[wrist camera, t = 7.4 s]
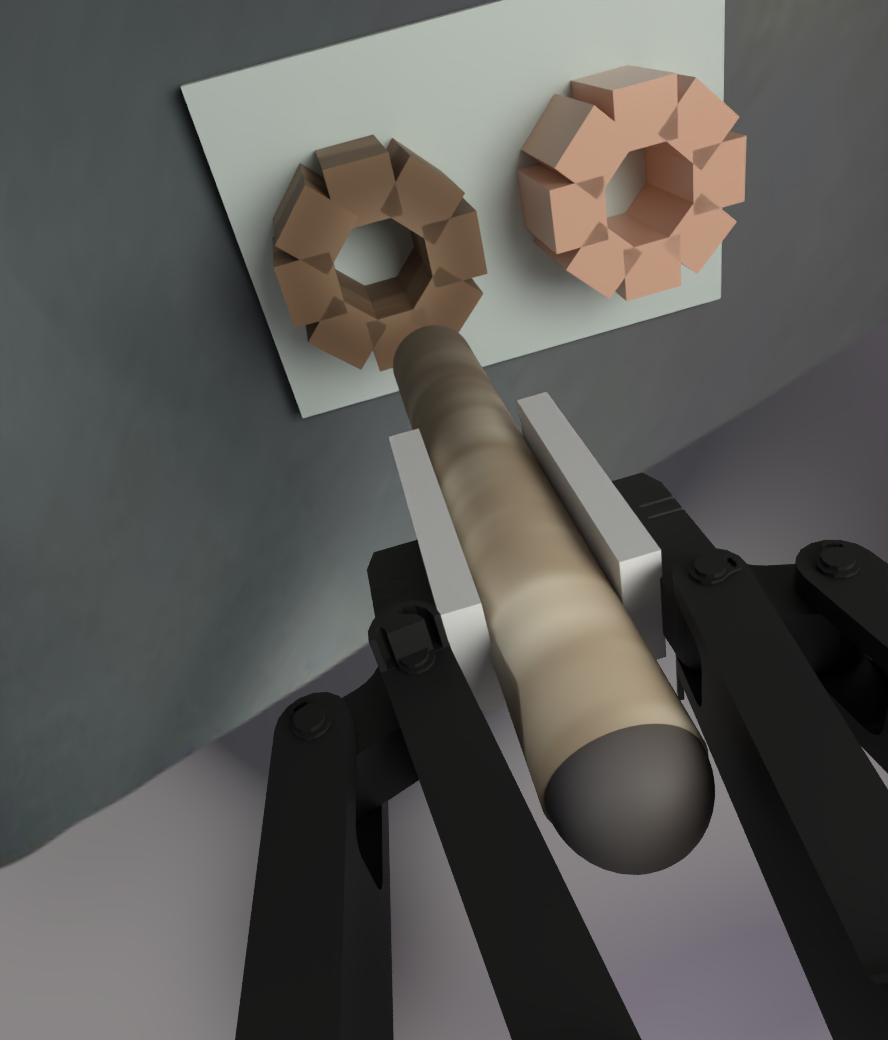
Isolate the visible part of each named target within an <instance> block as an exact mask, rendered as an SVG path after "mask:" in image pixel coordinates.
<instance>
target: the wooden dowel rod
mask: <svg viewBox="0 0 888 1040" xmlns="http://www.w3.org/2000/svg"><path fill="white" fill-rule="evenodd" d="M393 373H394V377H395V380H396V383H397V385H398V388H399V391H400V394H401V397H402V400H403V403H404V406H405V409H406V412H407V415H408V418H409V421H410V424H411V426H412V429H413V430H415V429H419V431H420V433H421V436H422V439H423V442H424V444H425V447H426V450H427V453H428V456H429V458H430V461H431V464H432V467H433V470H434V472H435V475H436V478H437V481H438V484H439V486H440V489H441V492H442V495H443V498H444V500H445V503H446V506H447V509H448V512H449V514H450V517H451V520H452V523H453V526H454V528H455V531H456V534H457V537H458V540H459V542H460V545H461V548H462V551H463V554H464V556H465V559H466V562H467V565H468V568H469V570H470V573H471V576H472V579H473V582H474V584H475V587H476V590H477V593H478V595H479V598H480V601H481V604H482V608H483V612H484V616H485V620H486V624H487V628H488V632H489V636H490V641H491V660H492V663H493V666H494V669H495V672H496V675H497V678H498V681H499V684H500V687H501V690H502V693H503V696H504V699H505V701H506V704H507V707H508V710H509V713H510V716H511V719H512V722H513V725H514V728H515V731H516V733H517V737H518V739H519V742H520V745H521V748H522V751H523V754H524V757H525V760H526V763H527V766H528V769H529V772H530V775H531V778H532V781H533V783H534V786H535V789H536V792H537V795H538V798H539V801H540V803H541V807H542V809H543V812H544V814H545V816H546V817H547V819H548V820H549V821H550V822H551V823H552V824H553V826H554V827H555V829H556V831H557V832H558V834H559V835H560V837H562V839H563V840H564V841H565V843H566V844H567V845H568V846H569V847H570V848H572V850H574V851H575V852H576V853H577V854H578V855H579V856H581V857H583V858H584V859H585V860H587V861H588V862H590V863H592V864H594V865H596V866H598V867H600V868H602V869H605V870H609V871H612V872H616V873H620V874H632V875H641V874H649V873H653V872H657V871H660V870H663V869H666V868H668V867H670V866H672V865H674V864H676V863H677V862H679V861H680V860H682V859H683V858H685V857H686V856H687V855H688V854H689V853H690V852H691V851H692V850H693V849H694V848H695V846H696V845H697V844H698V843H699V842H700V840H701V838H702V837H703V835H704V833H705V831H706V830H707V828H708V825H709V822H710V819H711V816H712V813H713V807H714V800H715V784H714V776H713V770H712V767H711V764H710V761H709V758H708V749H707V746H706V743H705V741H704V740H703V738H702V736H701V735H700V733H699V731H698V730H697V728H696V726H695V725H694V723H693V721H692V719H691V718H690V716H689V715H688V713H687V711H686V710H685V708H684V706H683V704H682V703H681V701H680V699H679V698H678V696H677V694H676V693H675V691H674V689H673V688H672V686H671V684H670V683H669V681H668V679H667V677H666V676H665V674H664V673H663V671H662V669H661V667H660V666H659V664H658V662H657V661H656V659H655V657H654V656H653V654H652V652H651V651H650V649H649V647H648V646H647V644H646V642H645V640H644V639H643V637H642V635H641V634H640V632H639V630H638V629H637V627H636V625H635V624H634V622H633V620H632V619H631V617H630V615H629V614H628V612H627V610H626V609H625V607H624V605H623V604H622V602H621V600H620V599H619V597H618V595H617V594H616V592H615V590H614V589H613V587H612V585H611V583H610V582H609V580H608V578H607V577H606V575H605V573H604V572H603V570H602V568H601V567H600V565H599V563H598V562H597V560H596V558H595V557H594V555H593V553H592V552H591V550H590V548H589V546H588V545H587V543H586V541H585V540H584V538H583V536H582V535H581V533H580V531H579V530H578V528H577V526H576V525H575V523H574V521H573V520H572V518H571V516H570V515H569V513H568V511H567V509H566V508H565V506H564V504H563V503H562V501H561V499H560V498H559V496H558V494H557V493H556V491H555V489H554V488H553V486H552V484H551V483H550V481H549V479H548V478H547V476H546V474H545V472H544V471H543V469H542V467H541V466H540V464H539V462H538V461H537V459H536V457H535V456H534V454H533V452H532V451H531V449H530V447H529V446H528V444H527V442H526V441H525V439H524V437H523V435H522V434H521V432H520V430H519V429H518V427H517V425H516V424H515V422H514V420H513V419H512V417H511V415H510V414H509V412H508V410H507V409H506V407H505V405H504V403H503V402H502V400H501V398H500V397H499V395H498V393H497V392H496V390H495V388H494V387H493V385H492V383H491V382H490V380H489V378H488V377H487V375H486V373H485V372H484V370H483V368H482V366H481V365H480V363H479V361H478V360H477V358H476V356H475V355H474V353H473V351H472V350H471V348H470V346H469V345H468V343H467V341H466V340H465V339H464V337H463V336H462V335H460V334H459V333H458V332H457V331H455V330H453V329H451V328H449V327H445V326H440V325H431V326H425V327H422V328H419V329H417V330H415V331H413V332H412V333H410V334H409V335H408V336H407V337H405V338H404V340H403V341H402V342H401V343H400V345H399V346H398V348H397V350H396V352H395V355H394V359H393Z"/></svg>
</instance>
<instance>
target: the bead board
mask: <svg viewBox="0 0 888 1040" xmlns="http://www.w3.org/2000/svg"><path fill="white" fill-rule="evenodd" d="M724 16H725V0H496V1H492V2H488V3H485V4H481V5H477V6H474V7H470V8H466V9H462V10H459V11H455V12H451V13H447V14H444V15H440V16H436V17H432V18H429V19H425V20H421V21H417V22H414V23H410V24H406V25H403V26H399V27H395V28H391V29H388V30H384V31H380V32H376V33H373V34H369V35H365V36H361V37H358V38H354V39H350V40H346V41H343V42H339V43H335V44H331V45H328V46H324V47H320V48H317V49H313V50H309V51H305V52H302V53H298V54H294V55H290V56H287V57H283V58H279V59H275V60H272V61H268V62H264V63H260V64H257V65H253V66H249V67H245V68H242V69H238V70H234V71H231V72H227V73H223V74H219V75H216V76H212V77H208V78H204V79H201V80H197V81H193V82H189V83H186V84H183V85H182V86H181V90H182V93H183V95H184V98H185V101H186V103H187V106H188V109H189V112H190V114H191V117H192V120H193V122H194V125H195V128H196V131H197V133H198V136H199V139H200V141H201V144H202V147H203V149H204V152H205V155H206V158H207V160H208V163H209V166H210V168H211V171H212V174H213V177H214V179H215V182H216V185H217V187H218V190H219V193H220V196H221V198H222V201H223V204H224V206H225V209H226V212H227V214H228V217H229V220H230V223H231V225H232V228H233V231H234V233H235V236H236V239H237V242H238V244H239V247H240V250H241V252H242V255H243V258H244V260H245V263H246V266H247V269H248V271H249V274H250V277H251V279H252V282H253V285H254V288H255V290H256V293H257V296H258V298H259V301H260V304H261V307H262V309H263V312H264V315H265V317H266V320H267V323H268V325H269V328H270V331H271V334H272V336H273V339H274V342H275V344H276V347H277V350H278V353H279V355H280V358H281V361H282V363H283V366H284V369H285V371H286V374H287V377H288V380H289V382H290V385H291V388H292V390H293V393H294V396H295V399H296V401H297V404H298V407H299V409H300V412H301V415H302V418H306V417H309V416H313V415H316V414H320V413H323V412H327V411H330V410H334V409H337V408H341V407H344V406H348V405H351V404H355V403H358V402H362V401H365V400H369V399H372V398H376V397H379V396H383V395H386V394H390V393H393V392H396V391H399V388H398V385H397V383H396V380H395V377H394V373H393V368H391V369H388V370H384V371H381V372H380V370H379V367H378V364H377V361H376V358H375V355H374V352H373V351H372V352H371V354H370V356H369V358H368V359H367V361H366V363H365V364H364V366H363V368H362V369H361V370H360V369H358V368H356V367H354V366H352V365H350V364H348V363H346V362H344V361H342V360H340V359H338V358H336V357H334V356H333V355H331V354H329V353H327V352H325V351H323V350H321V349H319V348H317V347H315V346H313V345H311V344H309V343H308V340H307V332H306V325H304V326H300V327H297V328H295V327H294V325H293V322H292V319H291V316H290V313H289V310H288V307H287V304H286V302H285V299H284V296H283V293H282V290H281V287H280V284H279V281H278V279H277V276H276V273H275V270H274V265H273V241H272V237H274V221H273V217H274V215H275V213H276V211H277V209H278V207H279V205H280V203H281V201H282V199H283V197H284V195H285V193H286V191H287V189H288V187H289V185H290V182H291V180H292V178H293V176H294V174H295V172H296V170H297V168H298V166H299V164H300V163H301V164H302V165H304V166H306V167H307V168H309V169H310V170H312V171H314V172H315V173H317V174H319V175H320V176H322V173H321V169H320V166H319V162H318V159H317V155H316V152H315V150H318V149H321V148H325V147H329V146H332V145H336V144H340V143H343V142H347V141H351V140H354V139H358V138H362V137H365V136H369V135H374V136H375V137H376V138H377V139H378V140H379V142H380V143H381V144H382V145H383V146H384V147H385V149H387V147H388V145H389V143H390V141H391V139H392V138H394V139H395V140H396V141H398V142H399V143H401V144H402V145H404V146H405V147H407V148H408V149H410V150H411V151H413V152H414V153H416V154H417V155H419V156H420V157H422V158H423V159H424V160H426V161H427V162H429V163H430V164H432V165H433V166H435V167H436V168H438V169H439V170H441V171H442V172H443V173H444V174H445V175H446V176H447V177H449V178H450V179H451V180H452V181H453V182H454V183H455V184H456V185H457V186H458V187H459V188H460V189H462V190H463V191H464V192H465V194H464V196H463V198H464V199H465V200H466V201H467V202H468V203H469V204H470V205H471V206H472V207H473V208H474V209H475V210H476V211H477V216H478V222H479V227H480V233H481V239H482V244H483V250H484V256H485V261H486V267H487V273H488V274H485V275H481V276H478V277H474V278H472V279H473V280H474V281H475V283H476V284H477V285H478V287H479V288H480V289H481V291H482V292H483V293H484V294H483V295H482V297H481V298H480V300H479V301H478V303H477V305H476V306H475V308H474V309H473V311H472V312H471V314H470V316H469V317H468V319H467V320H466V322H465V323H464V325H463V327H462V328H461V330H460V331H459V334H460V335H462V336H463V337H464V339H465V340H466V341H467V343H468V345H469V346H470V348H471V350H472V351H473V353H474V355H475V356H476V358H477V360H478V361H479V363H480V365H481V366H482V367H484V366H487V365H491V364H494V363H498V362H501V361H504V360H508V359H511V358H515V357H518V356H522V355H525V354H529V353H532V352H536V351H539V350H543V349H546V348H550V347H553V346H557V345H560V344H564V343H567V342H571V341H574V340H578V339H581V338H585V337H588V336H592V335H595V334H599V333H602V332H606V331H609V330H612V329H616V328H619V327H623V326H626V325H630V324H633V323H637V322H640V321H644V320H647V319H651V318H654V317H658V316H661V315H665V314H668V313H672V312H675V311H679V310H682V309H686V308H689V307H693V306H696V305H700V304H703V303H707V302H710V301H714V300H717V299H720V298H721V246H722V242H721V243H720V245H719V246H718V247H717V249H716V250H715V251H714V253H713V254H712V255H711V257H710V258H709V259H708V261H707V262H706V263H705V265H704V266H703V267H702V269H701V270H700V271H699V273H698V274H696V273H695V272H693V271H692V270H690V269H688V268H687V267H685V266H683V265H682V264H681V286H678V287H675V288H671V289H668V290H664V291H661V292H657V293H654V294H650V295H647V296H643V297H640V298H636V299H633V300H629V301H626V300H624V299H623V298H622V297H621V296H619V295H618V294H617V293H616V292H614V294H613V295H612V296H611V298H610V299H609V298H607V297H606V296H604V295H603V294H601V293H600V292H598V291H597V290H595V289H594V288H592V287H591V286H589V285H588V284H586V283H585V282H583V281H582V280H580V279H579V278H577V277H576V276H574V275H573V274H571V273H570V272H568V271H567V270H565V269H564V268H563V267H562V266H561V265H560V264H559V263H557V262H556V261H555V260H554V259H553V258H552V257H551V256H549V255H548V254H547V253H546V252H545V251H544V250H542V249H541V248H540V247H539V246H538V245H537V244H536V243H534V242H533V241H534V240H535V238H536V236H535V235H534V234H532V233H531V232H530V231H529V230H528V229H526V228H525V225H524V218H523V211H522V204H521V197H520V190H519V183H518V176H517V169H520V168H524V167H528V166H531V165H535V164H538V163H539V162H537V161H536V160H534V159H533V158H532V157H530V156H529V155H528V154H526V153H525V152H524V151H522V150H521V148H522V147H523V145H524V143H525V142H526V140H527V138H528V137H529V135H530V134H531V132H532V130H533V129H534V127H535V125H536V124H537V122H538V120H539V119H540V117H541V115H542V114H543V112H544V110H545V109H546V107H547V105H548V104H549V102H550V100H551V99H552V97H553V95H554V94H559V95H562V96H565V97H569V98H572V99H573V97H572V87H571V80H574V79H578V78H582V77H585V76H589V75H593V74H596V73H600V72H604V71H607V70H611V69H615V68H618V67H622V66H626V65H631V66H637V67H643V68H649V69H655V70H662V71H668V72H674V73H677V74H680V75H686V76H692V77H696V78H698V79H699V80H700V81H701V82H702V83H703V84H704V85H705V86H706V87H707V88H708V89H710V90H711V91H712V92H713V93H714V94H715V95H716V96H717V97H718V98H719V99H720V100H722V101H723V93H724ZM322 177H323V176H322ZM645 183H646V161H645V147H644V148H640V149H637V150H633V151H630V152H628V154H627V155H626V157H625V158H624V160H623V161H622V163H621V164H620V166H619V167H618V169H617V170H616V172H615V173H614V175H613V176H612V178H611V179H610V181H609V182H608V184H607V185H606V187H605V188H604V189H605V202H606V215H607V217H611V216H615V215H618V214H622V213H625V212H626V211H627V210H628V208H629V207H630V205H631V204H632V202H633V201H634V199H635V198H636V196H637V195H638V193H639V192H640V191H641V189H642V188H643V186H644V185H645ZM721 209H722V208H721ZM413 248H414V245H413V240H412V236H411V232H410V229H408V228H407V227H405V226H403V225H402V224H400V223H398V222H397V221H395V220H394V219H392V218H388V219H385V220H381V221H377V222H374V223H370V224H367V225H363V226H359V227H356V228H352V230H351V232H350V233H349V235H348V237H347V239H346V241H345V243H344V245H343V247H342V248H341V250H340V252H339V254H338V256H337V258H336V260H335V262H334V266H335V269H336V270H338V271H340V272H342V273H343V274H345V275H347V276H349V277H350V278H352V279H354V280H356V281H358V282H359V283H361V284H363V285H369V284H372V283H376V282H380V281H383V280H387V279H390V278H394V277H397V276H398V274H399V272H400V270H401V269H402V267H403V265H404V263H405V262H406V260H407V258H408V257H409V255H410V253H411V251H412V250H413Z"/></svg>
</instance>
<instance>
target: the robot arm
mask: <svg viewBox="0 0 888 1040" xmlns="http://www.w3.org/2000/svg"><path fill="white" fill-rule="evenodd" d="M517 404H518V410H519V416H520V422H521V428H522V433H523V437H524V439H525V441H526V442H527V444H528V446H529V447H530V449H531V451H532V452H533V454H534V456H535V457H536V459H537V461H538V462H539V464H540V466H541V467H542V469H543V471H544V472H545V474H546V476H547V478H548V479H549V481H550V483H551V484H552V486H553V488H554V489H555V491H556V493H557V494H558V496H559V498H560V499H561V501H562V503H563V504H564V506H565V508H566V509H567V511H568V513H569V515H570V516H571V518H572V520H573V521H574V523H575V525H576V526H577V528H578V530H579V531H580V533H581V535H582V536H583V538H584V540H585V541H586V543H587V545H588V546H589V548H590V550H591V552H592V553H593V555H594V557H595V558H596V560H597V562H598V563H599V565H600V567H601V568H602V570H603V572H604V573H605V575H606V577H607V578H608V580H609V582H610V583H611V585H612V587H613V589H614V590H615V592H616V594H617V595H618V597H619V599H620V600H621V602H622V604H623V605H624V607H625V609H626V610H627V612H628V614H629V615H630V617H631V619H632V620H633V622H634V624H635V625H636V627H637V629H638V630H639V632H640V634H641V635H642V637H643V639H644V640H645V642H646V644H647V646H648V647H649V649H650V651H651V652H652V654H653V656H654V657H655V659H656V660H657V659H660V658H663V657H666V644H665V637H666V639H667V641H668V642H669V644H670V645H671V647H672V648H673V650H674V652H675V653H676V674H677V693H678V698H679V699H680V700H684V691H685V693H686V695H687V698H688V700H689V702H690V705H691V707H692V709H693V712H694V714H695V716H696V719H697V721H698V723H699V726H700V728H701V730H702V733H703V735H704V737H705V740H706V742H707V744H708V747H709V749H710V752H711V754H712V756H713V758H714V761H715V763H716V766H717V768H718V770H719V773H720V775H721V778H722V780H723V782H724V784H725V787H726V789H727V792H728V794H729V796H730V799H731V801H732V803H733V806H734V808H735V810H736V813H737V815H738V817H739V820H740V822H741V824H742V827H743V829H744V831H745V834H746V836H747V839H748V841H749V843H750V846H751V848H752V850H753V853H754V855H755V857H756V860H757V862H758V864H759V867H760V869H761V872H762V874H763V876H764V879H765V881H766V883H767V885H768V888H769V890H770V893H771V895H772V897H773V899H774V902H775V904H776V907H777V909H778V911H779V914H780V916H781V918H782V921H783V923H784V925H785V928H786V930H787V932H788V935H789V937H790V939H791V942H792V944H793V947H794V949H795V951H796V954H797V956H798V958H799V961H800V963H801V965H802V968H803V970H804V972H805V975H806V977H807V979H808V982H809V984H810V987H811V989H812V991H813V994H814V996H815V998H816V1001H817V1003H818V1005H819V1008H820V1010H821V1013H822V1015H823V1017H824V1019H825V1022H826V1024H827V1027H828V1029H829V1031H830V1034H831V1036H832V1038H833V1040H888V789H887V787H886V786H885V784H884V783H883V781H882V780H881V778H880V777H879V775H878V773H877V772H876V770H875V768H874V767H873V765H872V763H871V762H870V760H869V759H868V757H867V755H866V754H865V752H864V751H863V749H864V750H865V751H866V752H867V753H868V754H869V755H870V756H871V757H872V758H873V759H874V760H875V761H876V762H877V763H878V764H879V765H880V766H881V767H882V768H883V769H884V770H885V771H886V772H887V773H888V564H887V563H886V562H884V561H883V560H882V559H880V558H879V557H878V556H876V555H875V554H874V553H872V552H871V551H869V550H867V549H865V548H864V547H862V546H860V545H858V544H855V543H851V542H847V541H842V540H823V541H819V542H814V543H811V544H809V545H807V546H806V547H804V548H803V549H801V550H800V552H799V554H798V555H797V557H796V563H795V564H787V565H768V566H763V565H749V564H747V563H745V561H744V560H743V559H741V557H740V556H738V555H736V554H734V553H731V552H730V551H727V550H722V549H717V548H715V547H714V545H713V544H712V543H711V542H710V541H709V540H708V538H707V537H706V536H705V535H704V533H703V532H702V531H701V530H700V528H699V527H698V526H697V525H696V524H695V522H694V521H693V520H692V519H691V518H690V516H689V515H688V514H687V513H686V512H685V510H682V507H681V506H680V504H679V503H678V502H677V501H676V500H675V499H673V496H672V495H671V493H670V492H669V491H668V490H667V489H666V487H665V486H664V485H663V484H662V483H661V482H660V481H658V480H656V479H654V478H652V477H650V476H648V475H646V474H644V473H639V474H636V475H632V476H629V477H625V478H622V479H618V480H615V481H612V482H611V480H610V479H609V477H608V476H607V475H606V473H605V472H604V471H603V469H602V468H601V466H600V465H599V464H598V462H597V461H596V459H595V458H594V457H593V455H592V454H591V453H590V451H589V450H588V448H587V447H586V446H585V444H584V443H583V442H582V440H581V439H580V437H579V436H578V435H577V433H576V432H575V430H574V429H573V428H572V426H571V425H570V424H569V422H568V421H567V419H566V418H565V417H564V415H563V414H562V413H561V411H560V410H559V408H558V407H557V406H556V404H555V403H554V401H553V400H552V399H551V397H550V396H549V395H548V393H547V392H544V393H541V394H537V395H534V396H530V397H527V398H523V399H520V400H517ZM389 440H390V443H391V447H392V451H393V454H394V458H395V461H396V465H397V468H398V472H399V475H400V479H401V483H402V486H403V490H404V493H405V497H406V500H407V504H408V508H409V511H410V515H411V518H412V522H413V525H414V529H415V533H416V536H417V540H415V541H411V542H408V543H404V544H401V545H398V546H394V547H391V548H387V549H384V550H380V551H377V552H374V553H373V556H372V558H371V561H370V563H369V566H368V569H367V573H368V578H369V584H370V588H371V589H370V590H371V596H372V600H373V607H374V613H375V619H374V620H373V621H372V623H371V626H370V628H369V630H368V638H369V643H370V646H371V648H372V651H373V654H374V656H375V659H376V661H377V664H378V668H377V669H376V671H375V673H374V674H373V675H372V677H371V678H370V679H369V680H368V681H367V682H366V683H365V684H363V685H362V686H360V687H359V688H358V689H356V690H355V691H353V692H351V693H350V694H348V695H346V696H345V697H343V698H340V697H339V696H337V695H334V694H332V693H329V692H321V693H312V694H310V695H307V696H304V697H301V698H299V699H298V700H296V701H295V702H294V703H292V704H291V705H289V706H288V707H287V708H286V710H285V711H284V712H283V713H282V715H281V716H280V717H279V719H278V722H277V725H276V728H275V731H274V738H273V746H272V754H271V762H270V770H269V777H268V785H267V793H266V801H265V809H264V817H263V825H262V832H261V841H260V848H259V856H258V864H257V872H256V880H255V889H254V895H253V903H252V911H251V920H250V927H249V935H248V943H247V950H246V958H245V966H244V975H243V982H242V991H241V998H240V1006H239V1014H238V1021H237V1029H236V1037H235V1040H393V998H392V953H391V913H390V912H391V911H390V910H391V909H390V865H389V823H388V800H389V799H391V798H392V797H394V796H395V795H397V794H398V793H400V792H401V791H403V790H404V789H406V788H408V787H409V786H411V785H412V784H414V783H415V782H416V781H418V780H419V781H420V783H421V786H422V789H423V792H424V795H425V798H426V801H427V803H428V806H429V809H430V812H431V814H432V817H433V820H434V823H435V826H436V829H437V831H438V834H439V836H440V840H441V842H442V845H443V848H444V851H445V854H446V857H447V859H448V862H449V865H450V868H451V871H452V873H453V876H454V879H455V882H456V884H457V887H458V890H459V893H460V896H461V898H462V901H463V904H464V907H465V910H466V912H467V915H468V918H469V921H470V924H471V926H472V929H473V932H474V935H475V938H476V941H477V943H478V946H479V949H480V952H481V954H482V957H483V960H484V963H485V966H486V969H487V971H488V974H489V977H490V980H491V983H492V985H493V988H494V991H495V994H496V997H497V999H498V1002H499V1005H500V1008H501V1011H502V1013H503V1016H504V1019H505V1022H506V1024H507V1027H508V1030H509V1033H510V1036H511V1039H512V1040H641V1038H640V1036H639V1034H638V1032H637V1030H636V1028H635V1026H634V1023H633V1022H632V1019H631V1017H630V1015H629V1013H628V1011H627V1009H626V1007H625V1005H624V1003H623V1001H622V999H621V997H620V995H619V993H618V991H617V988H616V987H615V984H614V982H613V980H612V978H611V976H610V974H609V972H608V970H607V968H606V966H605V964H604V962H603V960H602V958H601V956H600V954H599V951H598V950H597V947H596V946H595V943H594V941H593V939H592V937H591V935H590V933H589V931H588V929H587V927H586V925H585V923H584V921H583V919H582V917H581V914H580V912H579V910H578V908H577V906H576V904H575V902H574V900H573V898H572V896H571V894H570V892H569V890H568V888H567V886H566V884H565V882H564V880H563V877H562V875H561V873H560V872H559V869H558V867H557V865H556V863H555V861H554V859H553V857H552V855H551V853H550V851H549V849H548V847H547V845H546V843H545V841H544V839H543V836H542V834H541V832H540V830H539V828H538V826H537V824H536V822H535V820H534V818H533V816H532V814H531V812H530V810H529V808H528V806H527V804H526V802H525V799H524V797H523V795H522V793H521V791H520V789H519V787H518V785H517V783H516V781H515V779H514V777H513V775H512V773H511V771H510V769H509V767H508V764H507V762H506V760H505V758H504V756H503V754H502V752H501V750H500V748H499V746H498V744H497V742H496V740H495V738H494V736H493V734H492V732H491V729H490V727H489V725H488V723H487V721H486V719H485V718H484V715H483V713H482V712H484V711H487V710H490V709H494V708H497V707H500V706H504V705H506V701H505V699H504V696H503V693H502V690H501V687H500V684H499V681H498V678H497V675H496V672H495V669H494V666H493V663H492V660H491V641H490V636H489V632H488V628H487V624H486V620H485V616H484V612H483V608H482V604H481V601H480V598H479V595H478V593H477V590H476V587H475V584H474V582H473V579H472V576H471V573H470V570H469V568H468V565H467V562H466V559H465V556H464V554H463V551H462V548H461V545H460V542H459V540H458V537H457V534H456V531H455V528H454V526H453V523H452V520H451V517H450V514H449V512H448V509H447V506H446V503H445V500H444V498H443V495H442V492H441V489H440V486H439V484H438V481H437V478H436V475H435V472H434V470H433V467H432V464H431V461H430V458H429V456H428V453H427V450H426V447H425V444H424V442H423V439H422V436H421V433H420V431H419V429H415V430H412V431H408V432H405V433H401V434H398V435H394V436H391V437H389ZM862 748H863V749H862Z"/></svg>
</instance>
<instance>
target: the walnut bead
mask: <svg viewBox="0 0 888 1040" xmlns="http://www.w3.org/2000/svg"><path fill="white" fill-rule="evenodd" d="M315 152H316V155H317V159H318V162H319V166H320V169H321V173H322V176H323V177H322V176H320V175H319V174H317V173H315V172H314V171H312V170H310V169H309V168H307V167H306V166H304V165H302V164H301V163H300V164H299V166H298V168H297V170H296V172H295V174H294V176H293V178H292V180H291V182H290V185H289V187H288V189H287V191H286V193H285V195H284V197H283V199H282V201H281V203H280V205H279V207H278V209H277V211H276V213H275V215H274V217H273V221H274V237H272V241H273V265H274V270H275V273H276V276H277V279H278V281H279V284H280V287H281V290H282V293H283V296H284V299H285V302H286V304H287V307H288V310H289V313H290V316H291V319H292V322H293V325H294V327H295V328H297V327H300V326H304V325H306V332H307V340H308V343H309V344H311V345H313V346H315V347H317V348H319V349H321V350H323V351H325V352H327V353H329V354H331V355H333V356H334V357H336V358H338V359H340V360H342V361H344V362H346V363H348V364H350V365H352V366H354V367H356V368H358V369H360V370H361V369H362V368H363V366H364V364H365V363H366V361H367V359H368V358H369V356H370V354H371V352H372V351H373V352H374V355H375V358H376V361H377V364H378V367H379V370H380V372H381V371H384V370H388V369H391V368H393V359H394V355H395V352H396V350H397V348H398V346H399V345H400V343H401V342H402V341H403V340H404V338H405V337H407V336H408V335H409V334H410V333H412V332H413V331H415V330H417V329H419V328H422V327H425V326H431V325H440V326H445V327H449V328H451V329H453V330H455V331H457V332H458V333H459V331H460V330H461V328H462V327H463V325H464V323H465V322H466V320H467V319H468V317H469V316H470V314H471V312H472V311H473V309H474V308H475V306H476V305H477V303H478V301H479V300H480V298H481V297H482V295H483V294H484V293H483V292H482V291H481V289H480V288H479V287H478V285H477V284H476V283H475V281H474V280H473V279H472V278H474V277H478V276H481V275H485V274H488V273H487V267H486V261H485V256H484V250H483V244H482V239H481V233H480V227H479V222H478V216H477V211H476V210H475V209H474V208H473V207H472V206H471V205H470V204H469V203H468V202H467V201H466V200H465V199H464V198H463V196H464V194H465V192H464V191H463V190H462V189H460V188H459V187H458V186H457V185H456V184H455V183H454V182H453V181H452V180H451V179H450V178H449V177H447V176H446V175H445V174H444V173H443V172H442V171H441V170H439V169H438V168H436V167H435V166H433V165H432V164H430V163H429V162H427V161H426V160H424V159H423V158H422V157H420V156H419V155H417V154H416V153H414V152H413V151H411V150H410V149H408V148H407V147H405V146H404V145H402V144H401V143H399V142H398V141H396V140H395V139H394V138H392V139H391V141H390V143H389V145H388V147H387V149H385V147H384V146H383V145H382V144H381V143H380V142H379V140H378V139H377V138H376V137H375V136H374V135H369V136H365V137H362V138H358V139H354V140H351V141H347V142H343V143H340V144H336V145H332V146H329V147H325V148H321V149H318V150H315ZM388 218H392V219H394V220H395V221H397V222H398V223H400V224H402V225H403V226H405V227H407V228H408V229H410V232H411V236H412V240H413V245H414V248H413V250H412V251H411V253H410V255H409V257H408V258H407V260H406V262H405V263H404V265H403V267H402V269H401V270H400V272H399V274H398V276H397V277H394V278H390V279H387V280H383V281H380V282H376V283H372V284H369V285H363V284H361V283H359V282H358V281H356V280H354V279H352V278H350V277H349V276H347V275H345V274H343V273H342V272H340V271H338V270H336V269H335V266H334V262H335V260H336V258H337V256H338V254H339V252H340V250H341V248H342V247H343V245H344V243H345V241H346V239H347V237H348V235H349V233H350V232H351V230H352V228H356V227H359V226H363V225H367V224H370V223H374V222H377V221H381V220H385V219H388Z"/></svg>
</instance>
